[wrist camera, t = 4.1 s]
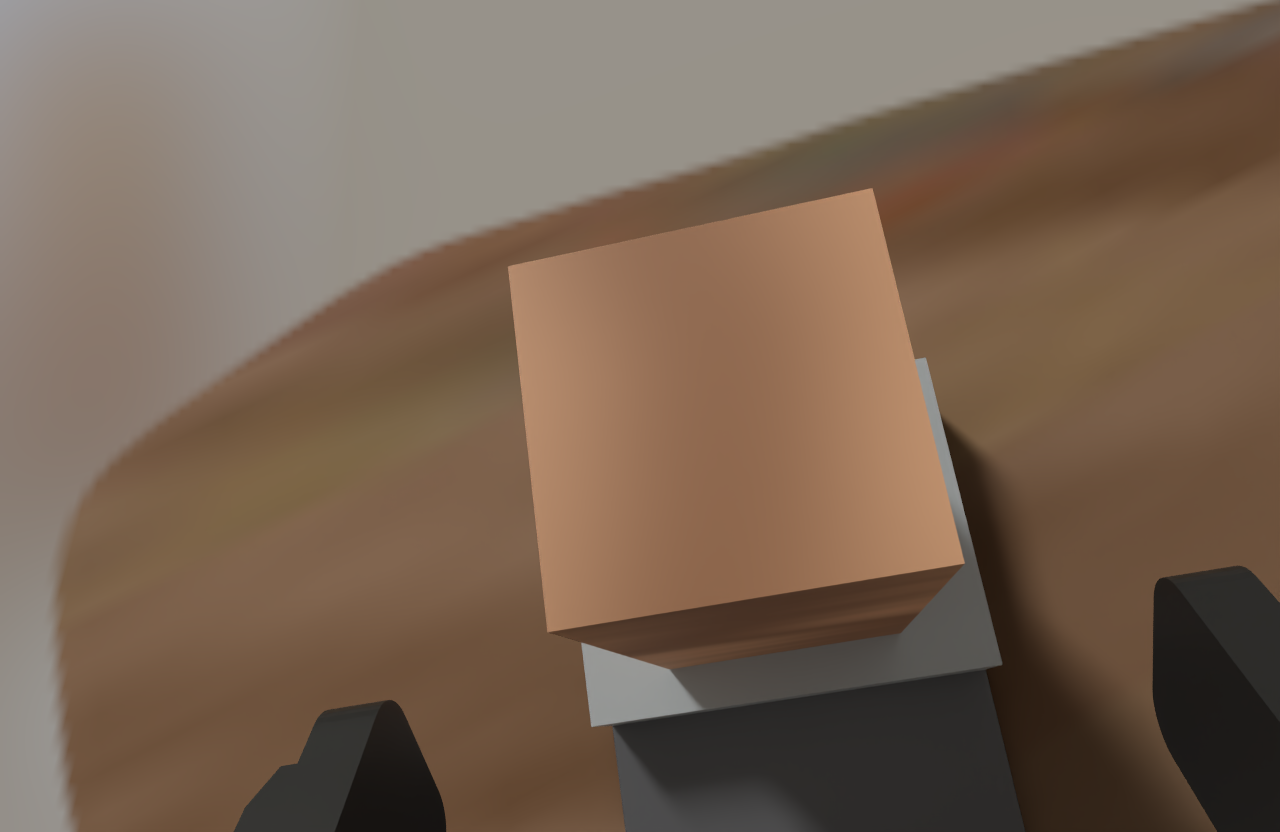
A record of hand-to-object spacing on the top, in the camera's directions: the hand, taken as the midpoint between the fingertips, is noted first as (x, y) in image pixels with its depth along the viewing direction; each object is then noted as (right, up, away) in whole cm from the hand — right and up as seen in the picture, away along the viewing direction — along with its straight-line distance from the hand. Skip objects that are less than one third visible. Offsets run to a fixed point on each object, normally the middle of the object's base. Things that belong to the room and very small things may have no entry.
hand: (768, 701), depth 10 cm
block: (+1, +1, +7) cm, 7 cm away
